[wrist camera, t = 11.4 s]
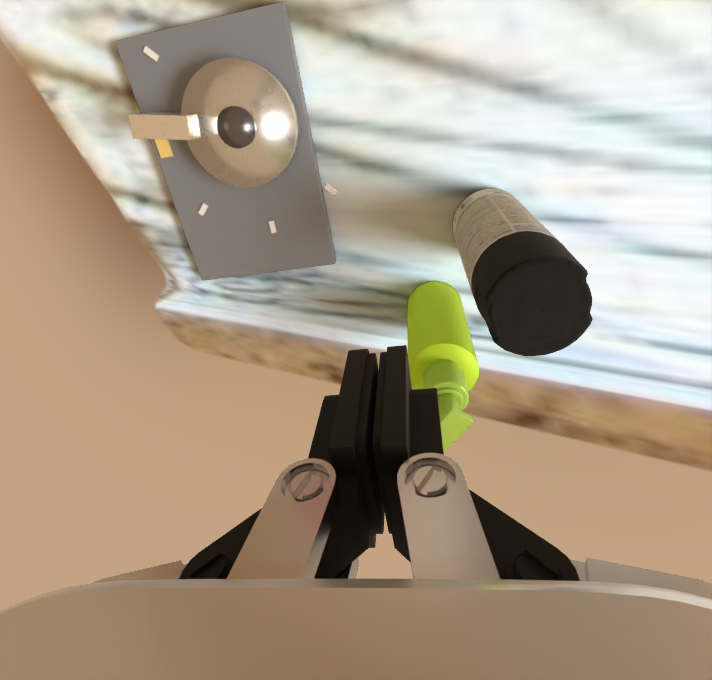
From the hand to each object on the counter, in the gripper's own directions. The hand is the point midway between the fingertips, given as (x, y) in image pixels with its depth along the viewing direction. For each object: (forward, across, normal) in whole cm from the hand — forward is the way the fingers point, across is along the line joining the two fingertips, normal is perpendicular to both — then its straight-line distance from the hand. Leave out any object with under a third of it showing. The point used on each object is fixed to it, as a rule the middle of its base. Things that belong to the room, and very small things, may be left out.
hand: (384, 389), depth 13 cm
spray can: (+33, -8, +5) cm, 35 cm away
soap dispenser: (+33, -2, +14) cm, 36 cm away
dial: (+32, +15, -7) cm, 36 cm away
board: (+33, +15, -4) cm, 37 cm away
